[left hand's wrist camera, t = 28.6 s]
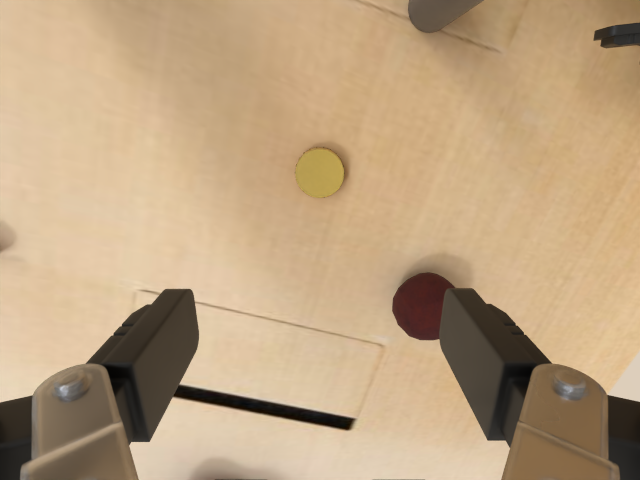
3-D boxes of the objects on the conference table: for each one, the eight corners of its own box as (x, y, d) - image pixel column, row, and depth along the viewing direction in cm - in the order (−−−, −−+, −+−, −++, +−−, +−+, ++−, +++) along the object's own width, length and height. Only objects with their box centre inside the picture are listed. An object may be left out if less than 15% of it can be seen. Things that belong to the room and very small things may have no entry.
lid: (335, 200, 39) (335, 204, 38) (290, 186, 39) (288, 190, 37) (350, 155, 38) (351, 157, 36) (303, 140, 37) (302, 141, 35)
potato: (453, 311, 44) (476, 347, 37) (391, 322, 44) (403, 359, 38) (448, 258, 41) (473, 286, 35) (383, 270, 42) (395, 300, 35)
